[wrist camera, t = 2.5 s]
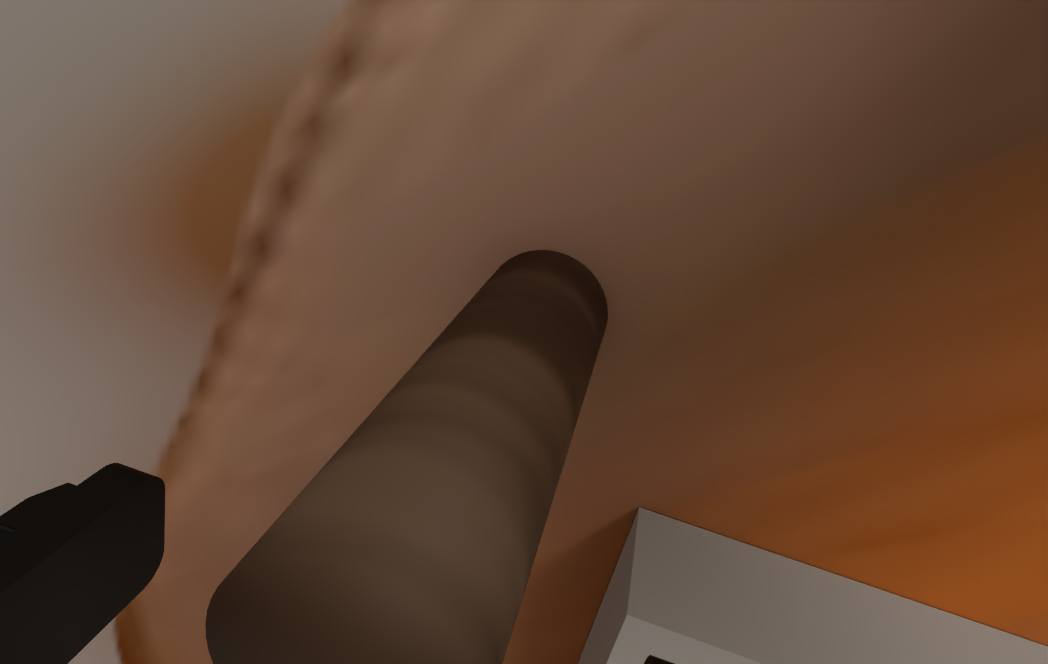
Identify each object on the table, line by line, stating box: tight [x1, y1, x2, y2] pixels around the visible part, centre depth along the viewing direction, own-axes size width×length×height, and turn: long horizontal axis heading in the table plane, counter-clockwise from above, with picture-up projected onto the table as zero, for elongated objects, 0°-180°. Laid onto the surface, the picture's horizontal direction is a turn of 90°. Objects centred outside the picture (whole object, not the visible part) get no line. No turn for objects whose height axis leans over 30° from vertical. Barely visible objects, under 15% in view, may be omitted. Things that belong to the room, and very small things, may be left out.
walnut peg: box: [206, 250, 608, 664], centre depth 15 cm, size 4×4×14 cm
